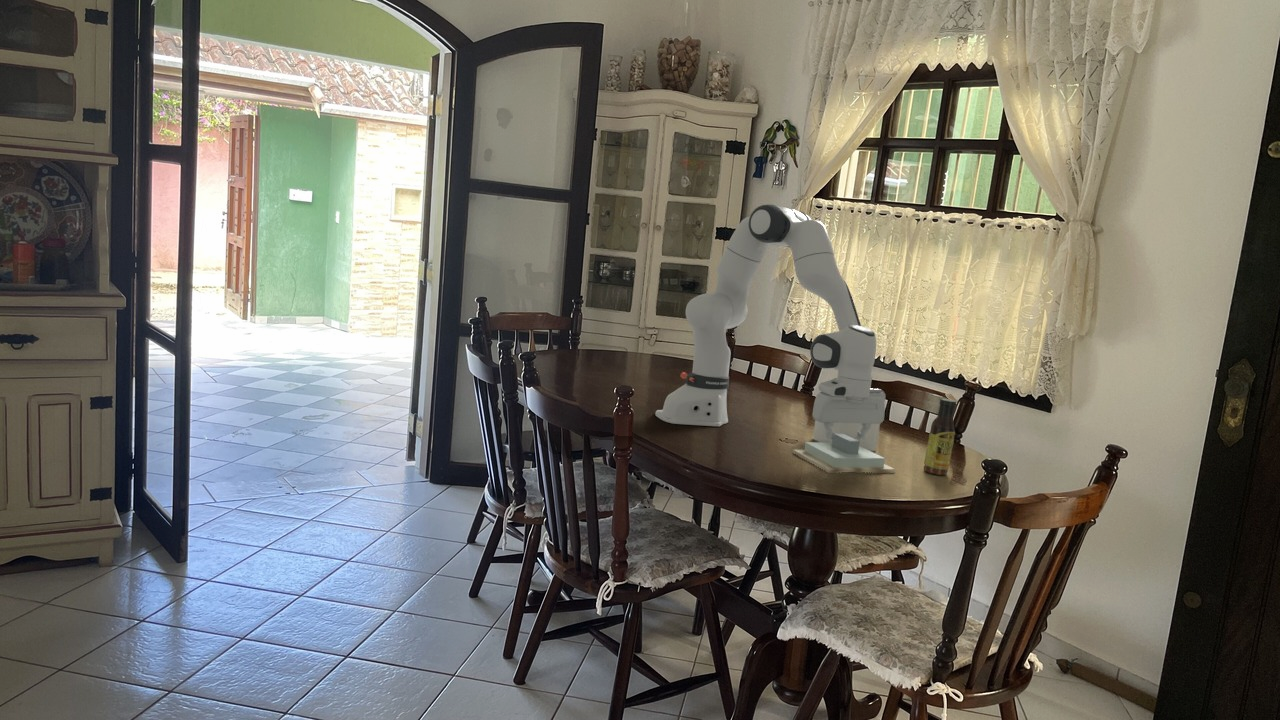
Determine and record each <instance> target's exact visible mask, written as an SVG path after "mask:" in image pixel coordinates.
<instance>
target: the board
mask: <svg viewBox="0 0 1280 720" xmlns="http://www.w3.org/2000/svg"><path fill="white" fill-rule="evenodd" d="M804 450H805V449H793V451H792V454H794V455H795V454H796V455H795V456H797V455H798V456H797V457H799V458H801V459H802V458H803V459H802V460H804V459H805V460H804V461H806V460H807V461H806V462H808V461H809V462H810V464H811V463H812V465H813V464H814V465H813V466H815V467H816V468H818V467H819V468H818V469H820V468H821V469H820V470H822V469H823V470H822V471H824V470H825V471H826V473H827V472H828V473H827V474H842V473H841V472H861V473H860V474H863V473H862V472H865V473H864V474H895V472H896V469H895V468H893V467H892V466H890V465H887V464H885V463H884V468H834V467H832V466H830V465H829V464H827V463H825V462H823V461H821V460H819V459H818V458H816V457H814V456H812V455H810V454H808V453H807V452H805V451H804ZM809 462H808V463H809ZM825 471H824V472H825ZM839 472H840V473H839ZM866 472H868V473H866ZM869 472H870V473H869ZM871 472H872V473H871Z"/></svg>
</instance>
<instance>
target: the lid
mask: <svg viewBox="0 0 1280 720" xmlns="http://www.w3.org/2000/svg"><path fill="white" fill-rule="evenodd" d="M859 443H860V441H858V440H856V439H853V438H851V437H849V436H847V435H845V434H842V433H835V436H834V439H832V443H828V442H819V441H815V442H813V441H811V442H810V441H807V442H805V444H804V449H803V450H804V451H805V452H807V453H808V454H810V455H812V456H814V457H816V458H818V459H819V460H821V461H823V462H825V463H827V464H829V465H830V466H832V467H834V468H884V464H885V462H886V457H883V456H882V455H879V454H878V453H875V452H874V451H869V450H867V449H865V448H863V447H861V446H859Z"/></svg>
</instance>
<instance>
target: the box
mask: <svg viewBox="0 0 1280 720" xmlns="http://www.w3.org/2000/svg"><path fill="white" fill-rule="evenodd" d="M820 392H821V391H819V392H818V394H819V393H820ZM814 420H815V419H814ZM880 426H881V424H871V427H870V429H869V430H868V431H867V433H866V435H865V439H864V440H863V439H857V432H860V430H861V429H862V427H863V426H862V423H833V426H832V427H831V429H832V432H834V433H842V434H845V435H847V436H849V437H851V438H853V439H856V440H858V441H860V443H859V446H861V447H863V448H865V449H867V450H869V451H871V452H876V451H877V446H878V440H879V434H880ZM826 434H827V431H826V429H825V426H824V422H818V421H816V420H815V422H814V428H813V434H812V435H813V437H812V439H813V440H815V441H816V442H828V443H832V439H828V438H826Z"/></svg>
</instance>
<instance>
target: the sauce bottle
mask: <svg viewBox="0 0 1280 720" xmlns="http://www.w3.org/2000/svg"><path fill="white" fill-rule="evenodd" d="M956 406H957V401H956V400H954V399H950V398H939V407H938V408H939V409H938V412H937V416H936V418H934V419H933V421H932V423H931V425H930V426H931V427H930V431H929V435H928V441H927V445H926V451H925V456H924V462H923V463H924V466H923V471H925V472H926V473H928V474H932V475H938V476H945V475H947V474H948V470H949V469H950V462H951V457H952V452H953V447H954V442H955V437H956V436H955V435H956V430H955V424H954V421H955V420H954V414H955V413H954V412H955V408H956Z"/></svg>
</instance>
